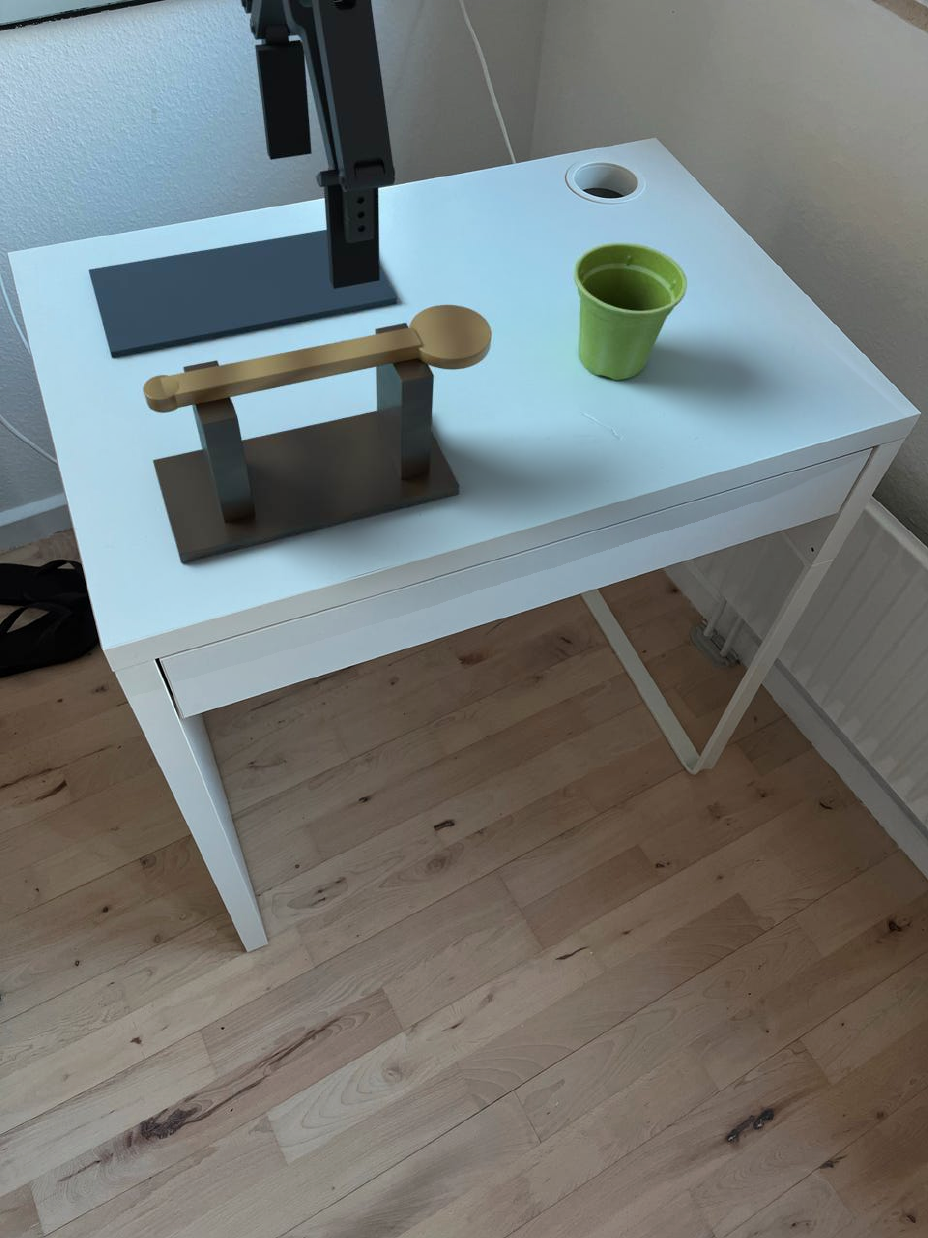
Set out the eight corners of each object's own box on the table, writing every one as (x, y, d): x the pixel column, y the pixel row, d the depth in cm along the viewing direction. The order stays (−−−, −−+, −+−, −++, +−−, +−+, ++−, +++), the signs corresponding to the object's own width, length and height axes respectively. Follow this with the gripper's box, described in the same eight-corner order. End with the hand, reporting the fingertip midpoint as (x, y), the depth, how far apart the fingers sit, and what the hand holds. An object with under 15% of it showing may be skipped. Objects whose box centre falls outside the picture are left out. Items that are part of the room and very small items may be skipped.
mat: (111, 357, 81) (110, 352, 81) (89, 274, 87) (88, 269, 87) (397, 302, 88) (397, 297, 87) (358, 229, 94) (357, 224, 93)
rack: (181, 563, 69) (149, 459, 60) (155, 468, 74) (121, 358, 65) (459, 494, 75) (468, 388, 66) (417, 410, 80) (420, 301, 71)
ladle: (155, 434, 61) (151, 421, 60) (138, 375, 64) (134, 361, 63) (503, 360, 67) (505, 347, 66) (472, 309, 71) (473, 295, 70)
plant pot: (597, 407, 81) (617, 324, 74) (539, 342, 86) (553, 258, 79) (683, 375, 84) (709, 293, 77) (622, 314, 89) (643, 231, 82)
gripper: (482, -151, 34) (452, 330, 51) (293, -336, 46) (320, 101, 64) (279, -137, 32) (319, 357, 49) (139, -334, 44) (210, 116, 62)
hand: (320, 213), depth 57 cm, fingers open, 13 cm apart
